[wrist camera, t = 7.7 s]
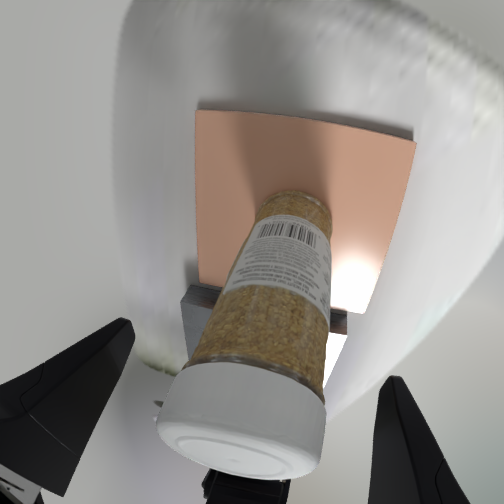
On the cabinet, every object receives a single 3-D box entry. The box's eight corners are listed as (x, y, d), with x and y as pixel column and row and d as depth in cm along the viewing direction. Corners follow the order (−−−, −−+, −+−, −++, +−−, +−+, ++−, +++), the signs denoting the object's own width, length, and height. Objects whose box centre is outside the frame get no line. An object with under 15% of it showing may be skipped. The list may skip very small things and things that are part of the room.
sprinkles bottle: (246, 238, 19) (146, 446, 8) (273, 173, 16) (156, 401, 5) (312, 268, 19) (275, 490, 8) (348, 209, 16) (356, 464, 5)
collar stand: (313, 396, 28) (310, 412, 26) (200, 371, 29) (193, 386, 28) (346, 315, 21) (346, 335, 19) (190, 285, 23) (180, 301, 21)
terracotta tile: (363, 308, 20) (364, 313, 20) (202, 277, 22) (199, 282, 22) (413, 140, 14) (416, 142, 13) (199, 109, 16) (195, 110, 15)
